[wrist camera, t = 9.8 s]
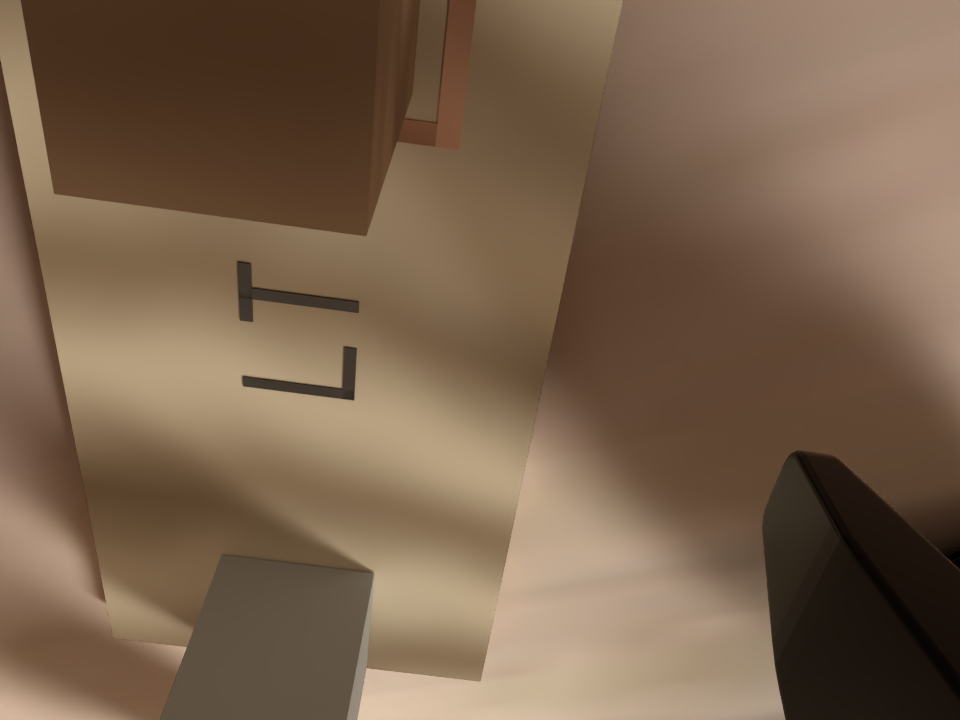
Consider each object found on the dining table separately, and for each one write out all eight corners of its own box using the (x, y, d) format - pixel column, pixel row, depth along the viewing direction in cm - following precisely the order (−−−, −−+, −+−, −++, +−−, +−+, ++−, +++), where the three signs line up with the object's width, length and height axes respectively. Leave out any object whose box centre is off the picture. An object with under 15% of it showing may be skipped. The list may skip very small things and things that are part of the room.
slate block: (366, 664, 29) (333, 856, 24) (228, 648, 29) (165, 837, 24) (374, 572, 26) (337, 768, 21) (221, 554, 26) (149, 746, 21)
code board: (481, 655, 30) (480, 682, 29) (124, 613, 30) (112, 639, 29) (692, -374, 14) (703, -380, 13) (-72, -494, 14) (-112, -508, 13)
